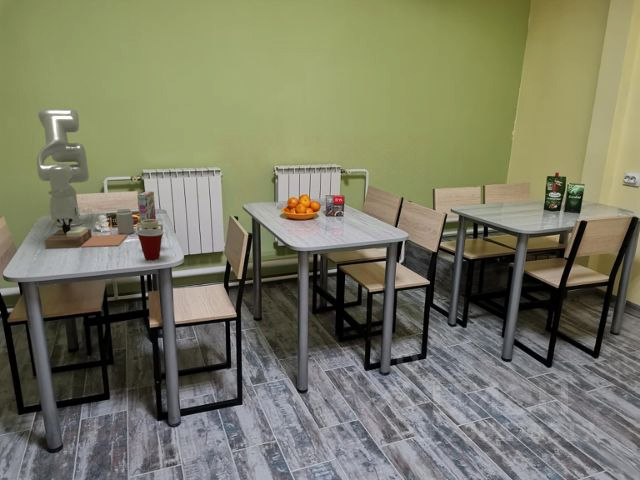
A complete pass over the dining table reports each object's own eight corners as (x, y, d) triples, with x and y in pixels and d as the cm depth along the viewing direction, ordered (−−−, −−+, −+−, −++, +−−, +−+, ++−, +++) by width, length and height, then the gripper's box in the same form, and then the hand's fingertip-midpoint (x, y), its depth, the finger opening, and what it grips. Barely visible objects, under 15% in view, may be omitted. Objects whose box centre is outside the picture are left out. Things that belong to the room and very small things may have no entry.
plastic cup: (169, 259, 201) (167, 232, 198) (143, 264, 195) (140, 236, 192) (161, 253, 209) (159, 226, 206) (136, 257, 204) (133, 230, 200)
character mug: (139, 252, 210) (136, 223, 206) (139, 247, 216) (136, 220, 213) (165, 249, 214) (162, 221, 210) (164, 245, 220) (161, 218, 217)
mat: (93, 236, 234) (93, 235, 234) (128, 235, 236) (127, 234, 236) (81, 247, 217) (81, 246, 216) (118, 246, 219) (118, 244, 219)
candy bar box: (149, 225, 255) (146, 195, 251) (139, 225, 256) (136, 194, 251) (156, 220, 266) (154, 191, 262) (147, 220, 266) (145, 191, 262)
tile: (74, 231, 227) (74, 227, 227) (87, 231, 228) (87, 227, 227) (67, 236, 219) (66, 232, 218) (80, 236, 219) (80, 232, 219)
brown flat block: (61, 237, 232) (60, 229, 231) (91, 236, 234) (90, 228, 232) (46, 248, 215) (44, 240, 213) (79, 247, 216) (77, 239, 215)
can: (127, 235, 236) (124, 211, 232) (114, 234, 238) (112, 210, 235) (137, 231, 243) (135, 208, 239) (125, 230, 245) (122, 207, 242)
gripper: (40, 195, 213) (46, 235, 218) (75, 195, 215) (81, 234, 220) (47, 192, 220) (53, 231, 225) (81, 192, 222) (86, 230, 227)
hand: (67, 232), depth 223 cm, fingers closed
